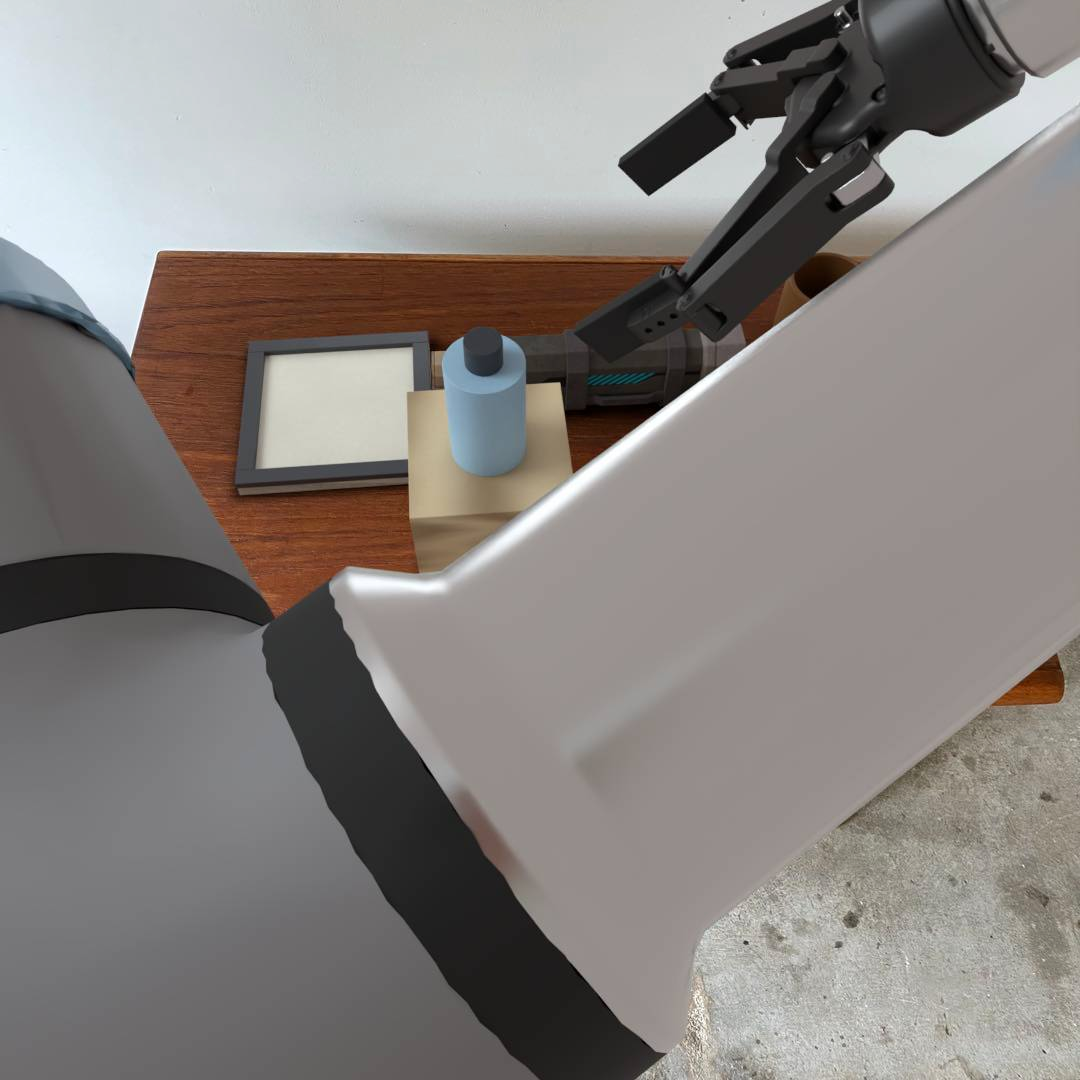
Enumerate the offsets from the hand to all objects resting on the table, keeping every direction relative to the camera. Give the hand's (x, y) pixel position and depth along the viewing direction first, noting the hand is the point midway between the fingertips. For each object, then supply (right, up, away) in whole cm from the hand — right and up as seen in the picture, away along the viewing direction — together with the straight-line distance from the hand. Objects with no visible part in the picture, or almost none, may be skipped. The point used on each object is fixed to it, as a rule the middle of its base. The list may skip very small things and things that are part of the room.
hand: (614, 255), depth 54 cm
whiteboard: (-24, -4, +40) cm, 47 cm away
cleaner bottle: (-8, -9, +18) cm, 22 cm away
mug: (+23, +1, +44) cm, 50 cm away
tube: (0, -2, +42) cm, 42 cm away
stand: (-8, -18, +31) cm, 37 cm away
